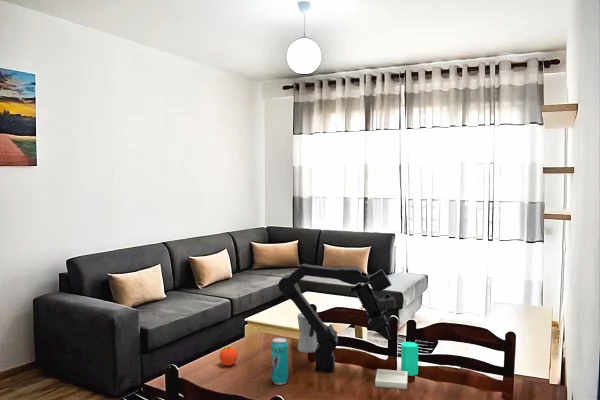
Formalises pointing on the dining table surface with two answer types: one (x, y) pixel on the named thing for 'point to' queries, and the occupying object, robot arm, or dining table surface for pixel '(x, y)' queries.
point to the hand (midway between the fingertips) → (389, 335)
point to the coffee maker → (306, 336)
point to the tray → (391, 379)
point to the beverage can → (279, 361)
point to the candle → (409, 358)
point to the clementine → (228, 356)
